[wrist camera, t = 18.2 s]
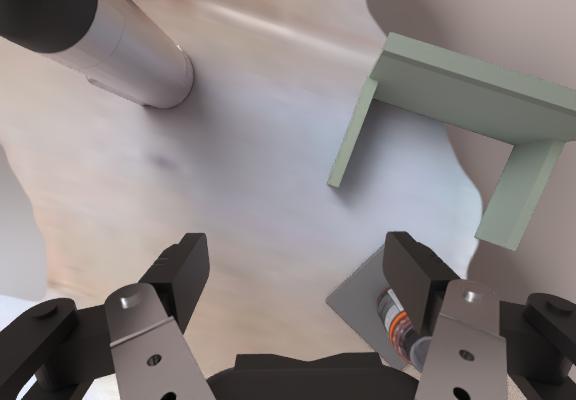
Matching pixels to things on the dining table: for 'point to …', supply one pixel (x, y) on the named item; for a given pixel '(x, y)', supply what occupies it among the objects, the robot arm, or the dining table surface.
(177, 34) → the dining table surface
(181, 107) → the dining table surface
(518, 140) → the sage green open tray
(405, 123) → the dining table surface
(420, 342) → the supplement bottle
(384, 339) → the slate tile
